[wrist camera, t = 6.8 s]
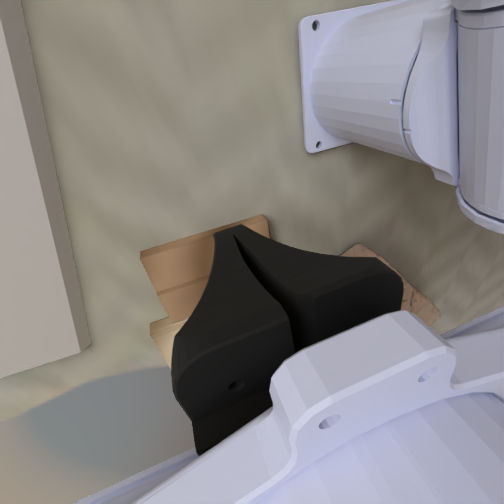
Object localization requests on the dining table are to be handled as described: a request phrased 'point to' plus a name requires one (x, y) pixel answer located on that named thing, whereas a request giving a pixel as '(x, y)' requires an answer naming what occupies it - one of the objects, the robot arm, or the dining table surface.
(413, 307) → the brick
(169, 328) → the floor strip
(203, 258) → the plank
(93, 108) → the dining table surface
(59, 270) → the crown molding
